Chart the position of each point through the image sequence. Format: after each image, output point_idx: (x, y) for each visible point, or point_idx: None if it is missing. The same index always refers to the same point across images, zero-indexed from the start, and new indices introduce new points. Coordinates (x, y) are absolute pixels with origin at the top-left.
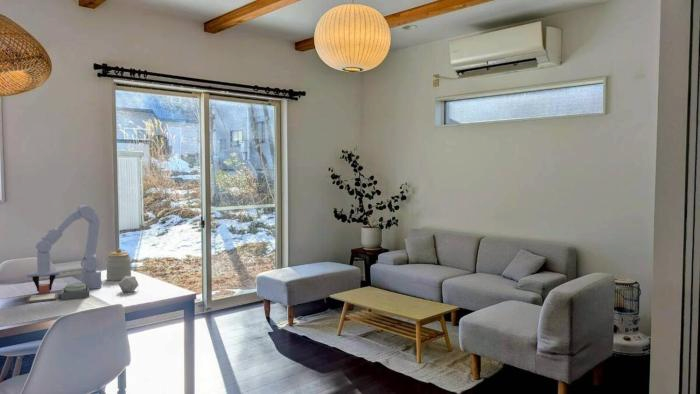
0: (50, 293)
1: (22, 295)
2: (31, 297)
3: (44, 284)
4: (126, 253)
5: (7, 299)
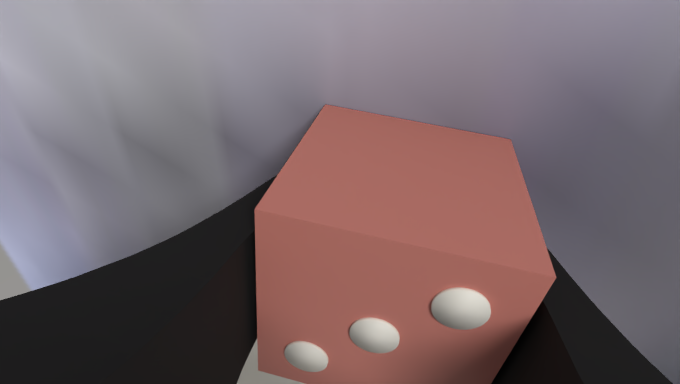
0: None
1: (93, 130)
2: (240, 377)
3: (376, 339)
4: None
5: (9, 234)
